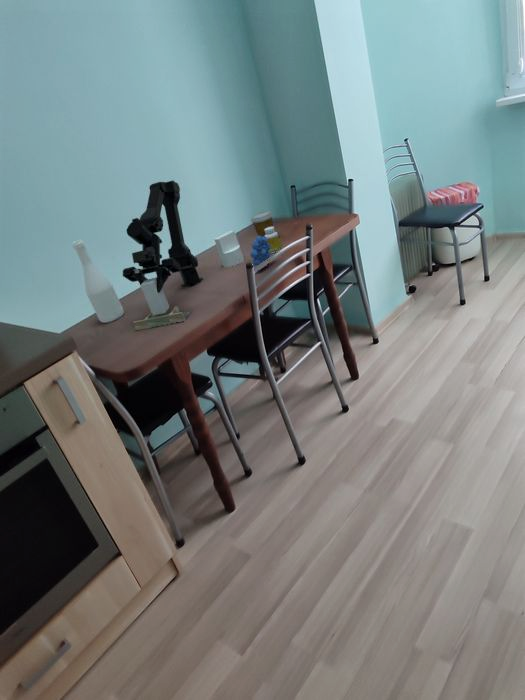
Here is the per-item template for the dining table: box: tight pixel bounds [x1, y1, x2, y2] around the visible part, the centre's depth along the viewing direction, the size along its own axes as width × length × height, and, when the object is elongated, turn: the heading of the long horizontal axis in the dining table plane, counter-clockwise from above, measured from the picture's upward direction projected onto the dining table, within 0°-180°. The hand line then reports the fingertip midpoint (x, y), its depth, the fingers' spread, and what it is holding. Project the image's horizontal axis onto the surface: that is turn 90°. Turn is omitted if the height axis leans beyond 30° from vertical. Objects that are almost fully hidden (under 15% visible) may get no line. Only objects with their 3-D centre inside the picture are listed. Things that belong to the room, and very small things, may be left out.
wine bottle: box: [72, 239, 125, 324], centre depth 175 cm, size 10×10×30 cm
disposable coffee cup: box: [250, 210, 274, 237], centre depth 210 cm, size 10×10×12 cm
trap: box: [132, 305, 192, 331], centre depth 162 cm, size 7×18×3 cm, turn 79°
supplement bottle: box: [264, 226, 282, 255], centre depth 194 cm, size 5×5×10 cm
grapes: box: [249, 235, 272, 271], centre depth 180 cm, size 12×7×12 cm, turn 144°
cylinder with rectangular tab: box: [214, 230, 245, 268], centre depth 196 cm, size 9×9×12 cm
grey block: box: [139, 276, 170, 316], centre depth 160 cm, size 4×4×11 cm
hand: (151, 293), depth 158 cm, fingers closed on grey block, 4 cm apart
